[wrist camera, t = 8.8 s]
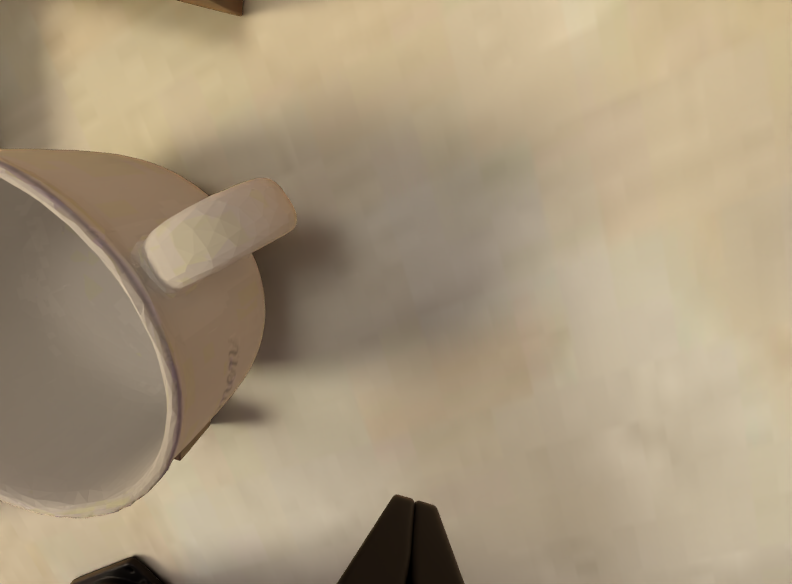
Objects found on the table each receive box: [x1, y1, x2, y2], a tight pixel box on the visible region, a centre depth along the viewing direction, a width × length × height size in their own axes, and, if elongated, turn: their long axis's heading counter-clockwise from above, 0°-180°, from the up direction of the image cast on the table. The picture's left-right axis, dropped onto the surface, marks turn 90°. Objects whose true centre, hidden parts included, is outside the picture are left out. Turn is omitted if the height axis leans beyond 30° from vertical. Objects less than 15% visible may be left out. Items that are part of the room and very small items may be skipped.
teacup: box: [0, 149, 297, 518], centre depth 14 cm, size 14×11×8 cm
